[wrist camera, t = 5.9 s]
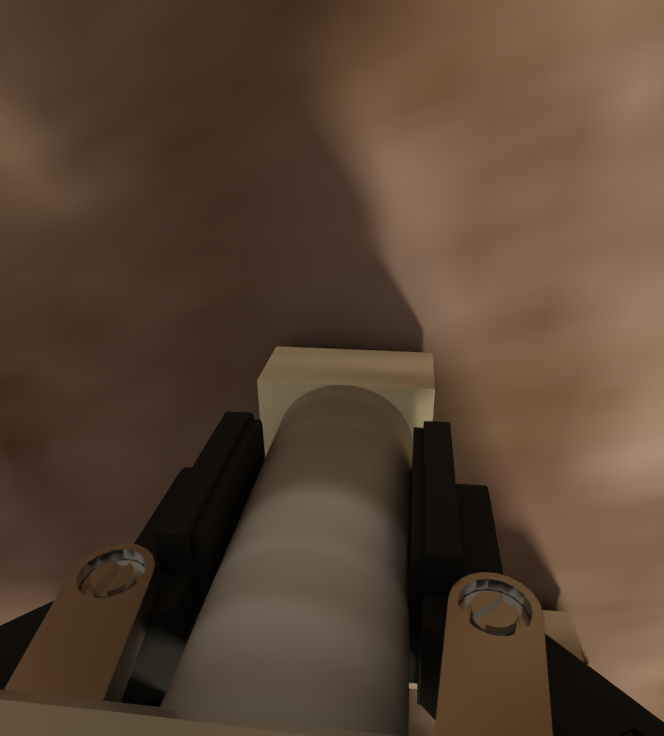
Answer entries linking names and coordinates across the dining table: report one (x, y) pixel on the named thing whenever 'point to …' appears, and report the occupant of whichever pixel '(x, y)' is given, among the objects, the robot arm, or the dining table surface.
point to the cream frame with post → (322, 552)
